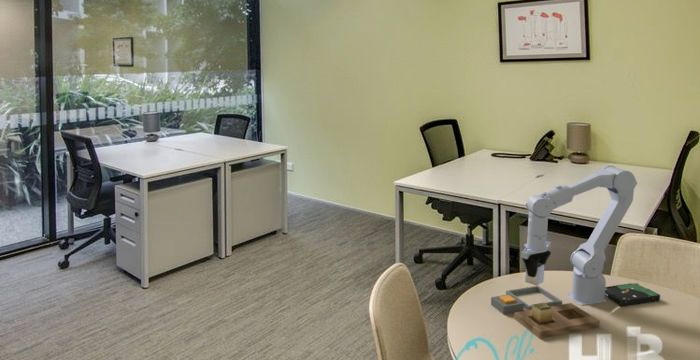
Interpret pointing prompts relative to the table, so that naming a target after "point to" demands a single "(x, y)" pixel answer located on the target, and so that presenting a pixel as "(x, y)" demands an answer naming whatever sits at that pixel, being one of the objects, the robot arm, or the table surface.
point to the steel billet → (536, 275)
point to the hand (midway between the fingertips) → (535, 274)
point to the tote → (534, 289)
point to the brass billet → (542, 313)
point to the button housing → (507, 305)
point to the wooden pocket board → (559, 321)
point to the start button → (507, 299)
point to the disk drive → (630, 294)
